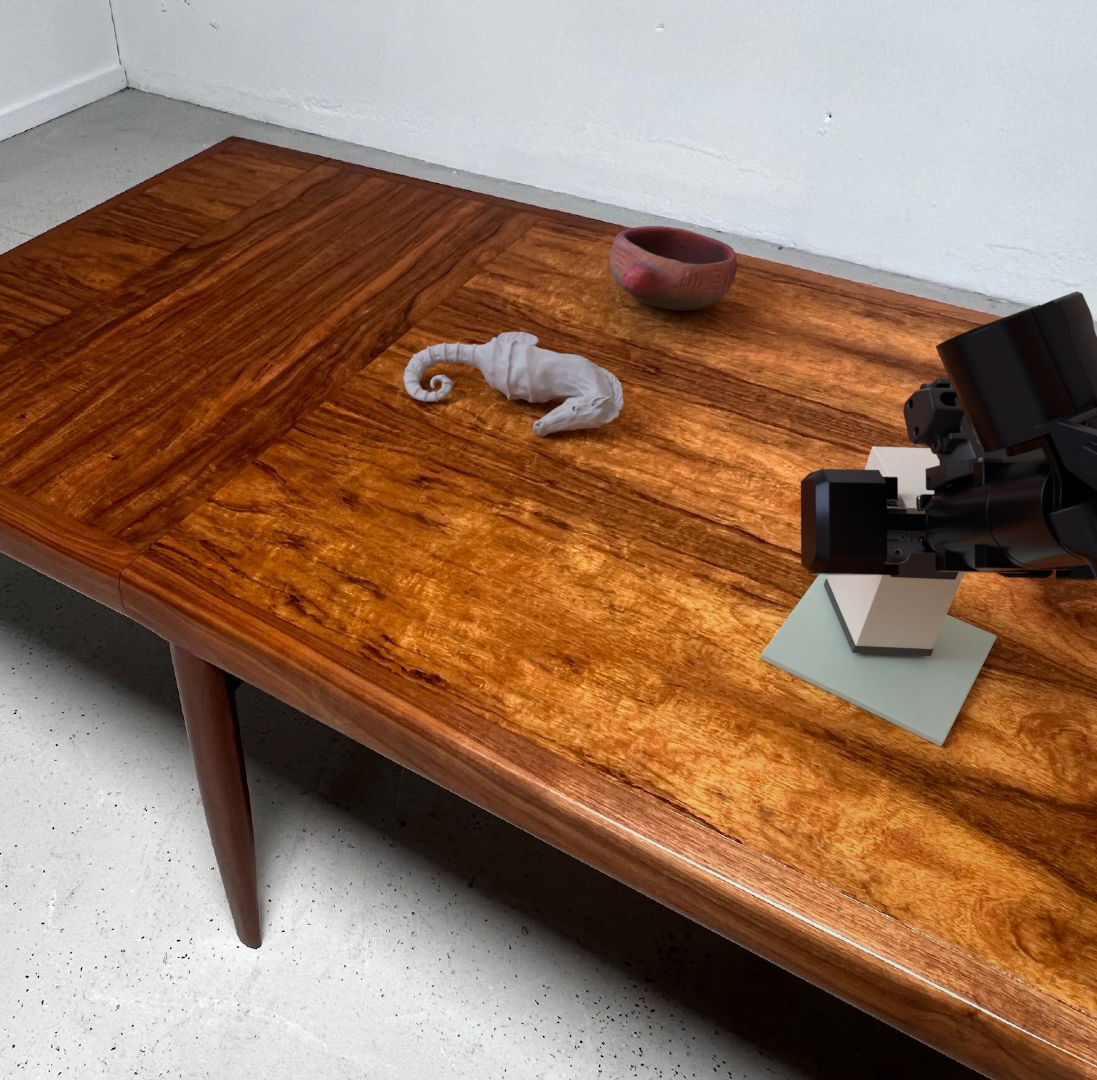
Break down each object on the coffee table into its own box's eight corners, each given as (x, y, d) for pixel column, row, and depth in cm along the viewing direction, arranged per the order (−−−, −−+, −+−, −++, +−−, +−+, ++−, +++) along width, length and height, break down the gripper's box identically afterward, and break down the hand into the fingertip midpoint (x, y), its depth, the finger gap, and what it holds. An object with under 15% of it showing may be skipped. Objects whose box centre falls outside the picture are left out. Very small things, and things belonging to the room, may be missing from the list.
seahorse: (388, 415, 93) (622, 414, 88) (406, 315, 98) (627, 310, 93) (398, 449, 97) (622, 451, 92) (416, 352, 103) (627, 349, 98)
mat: (994, 640, 73) (997, 635, 73) (941, 747, 66) (943, 742, 66) (825, 568, 79) (827, 563, 79) (759, 658, 72) (761, 653, 72)
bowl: (600, 272, 116) (611, 202, 111) (719, 279, 115) (735, 208, 110) (607, 345, 104) (619, 270, 99) (740, 353, 103) (759, 278, 98)
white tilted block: (896, 587, 77) (950, 447, 69) (931, 657, 71) (994, 512, 64) (823, 584, 77) (870, 445, 70) (852, 653, 71) (906, 509, 64)
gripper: (1214, 365, 56) (1033, 419, 72) (861, 359, 56) (757, 414, 72) (1221, 576, 55) (1036, 584, 71) (863, 568, 55) (757, 578, 71)
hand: (896, 535), depth 71 cm, fingers closed on white tilted block, 5 cm apart
